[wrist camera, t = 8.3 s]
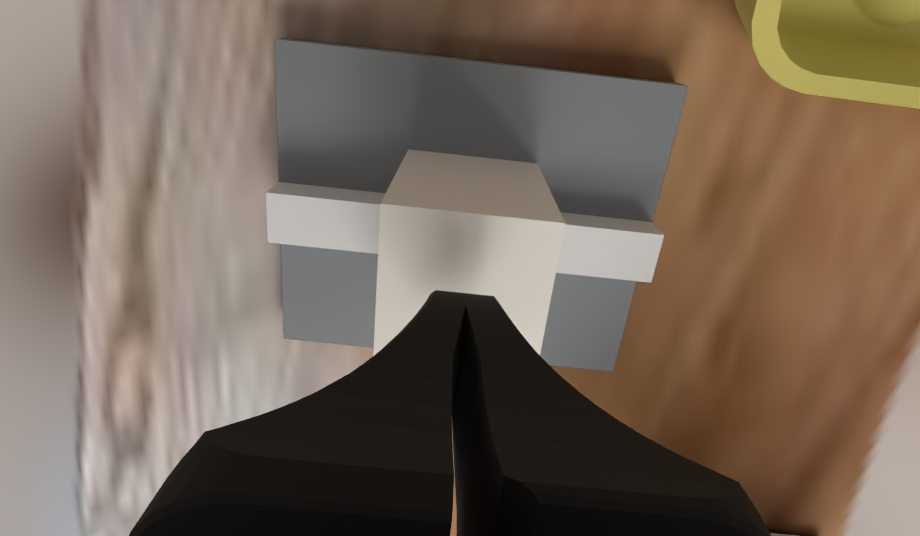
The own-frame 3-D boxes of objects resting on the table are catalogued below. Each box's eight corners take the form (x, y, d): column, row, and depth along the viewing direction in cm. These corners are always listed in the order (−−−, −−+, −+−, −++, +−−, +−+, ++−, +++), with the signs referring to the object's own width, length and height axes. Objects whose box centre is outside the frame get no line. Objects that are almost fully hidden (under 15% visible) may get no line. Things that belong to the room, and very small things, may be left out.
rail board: (676, 82, 17) (704, 90, 15) (606, 356, 21) (621, 391, 19) (285, 38, 16) (259, 40, 14) (292, 324, 21) (272, 357, 19)
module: (537, 163, 17) (565, 223, 12) (513, 305, 19) (529, 409, 14) (408, 149, 17) (380, 203, 12) (398, 294, 19) (371, 393, 14)
